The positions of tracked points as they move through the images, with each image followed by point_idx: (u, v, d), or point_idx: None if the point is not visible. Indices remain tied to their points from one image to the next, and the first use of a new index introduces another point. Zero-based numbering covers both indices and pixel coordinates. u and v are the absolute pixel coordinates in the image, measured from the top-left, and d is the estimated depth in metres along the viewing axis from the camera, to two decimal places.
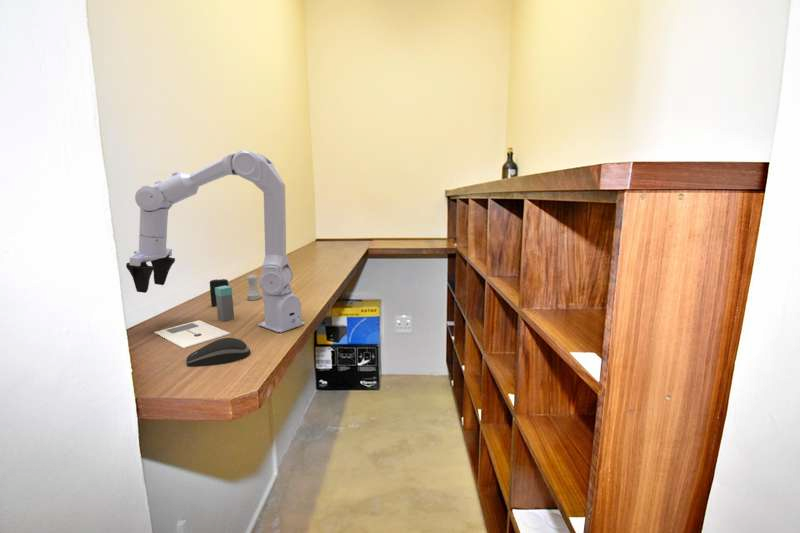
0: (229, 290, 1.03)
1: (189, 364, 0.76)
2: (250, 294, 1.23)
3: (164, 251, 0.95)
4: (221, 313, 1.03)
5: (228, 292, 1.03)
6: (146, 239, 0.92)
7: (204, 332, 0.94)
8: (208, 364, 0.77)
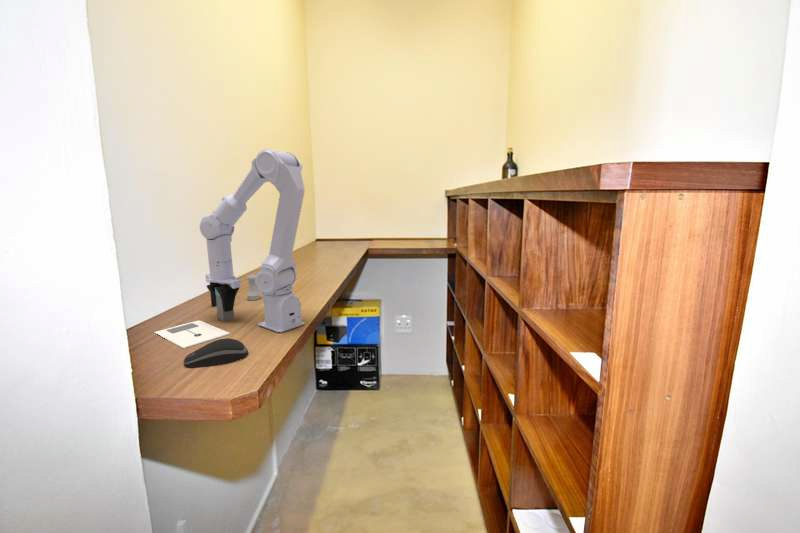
0: None
1: (187, 365, 0.76)
2: (250, 294, 1.23)
3: None
4: (221, 313, 1.03)
5: None
6: (226, 264, 1.00)
7: (204, 332, 0.94)
8: (206, 365, 0.76)
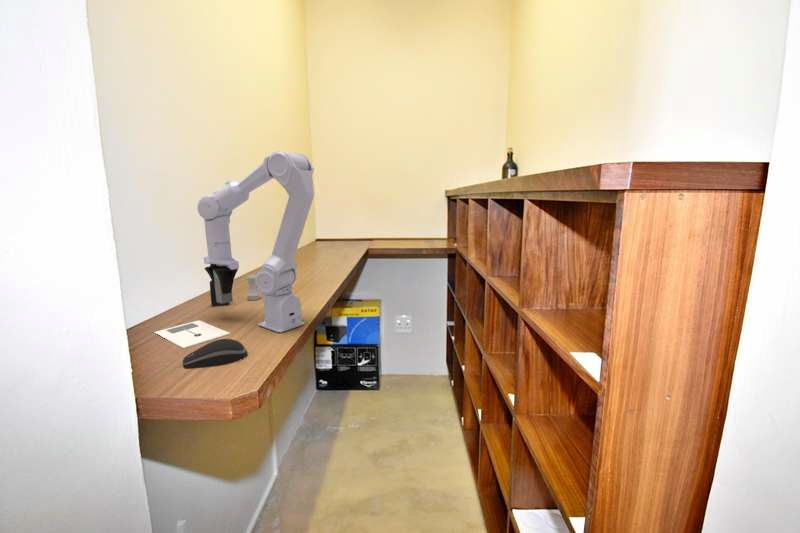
0: None
1: (186, 366, 0.76)
2: (250, 294, 1.23)
3: None
4: (220, 295, 1.02)
5: None
6: (224, 245, 0.99)
7: (204, 332, 0.94)
8: (205, 365, 0.76)
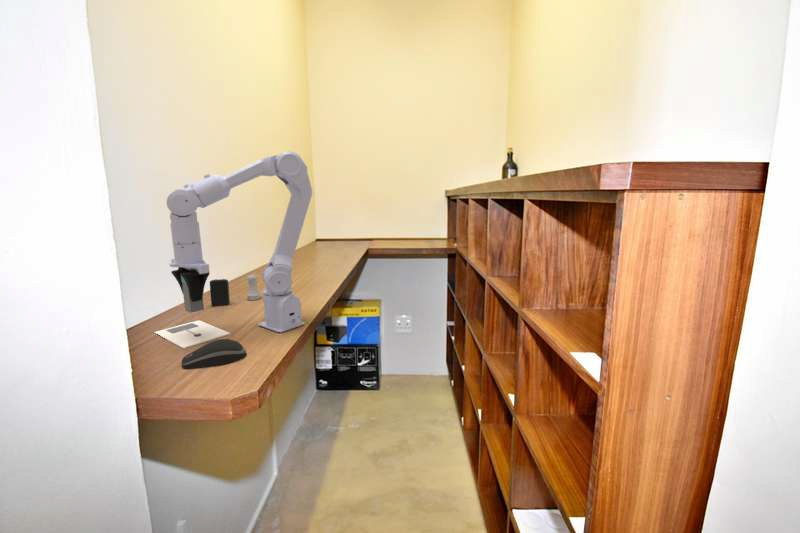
0: None
1: (185, 366, 0.75)
2: (250, 294, 1.23)
3: None
4: (188, 303, 0.89)
5: None
6: (193, 246, 0.86)
7: (204, 332, 0.94)
8: (204, 366, 0.76)
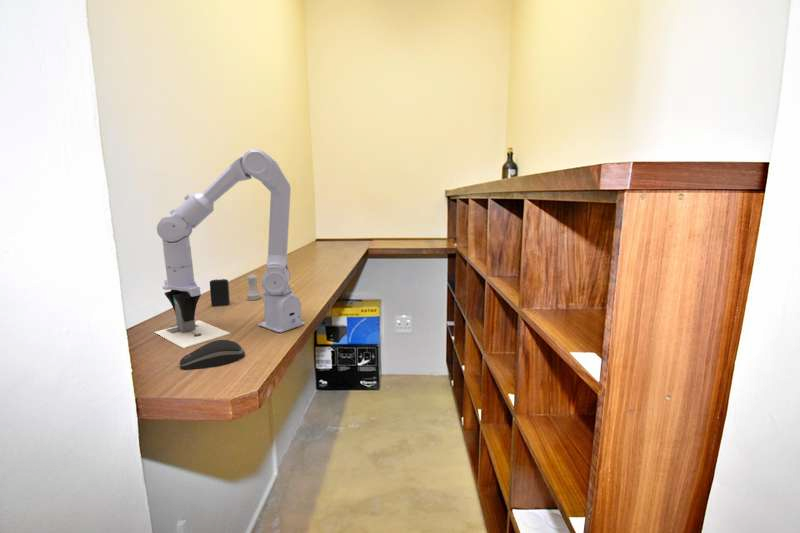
0: None
1: (183, 367, 0.75)
2: (250, 294, 1.23)
3: None
4: (180, 323, 0.93)
5: None
6: (185, 269, 0.91)
7: (204, 332, 0.94)
8: (203, 367, 0.76)
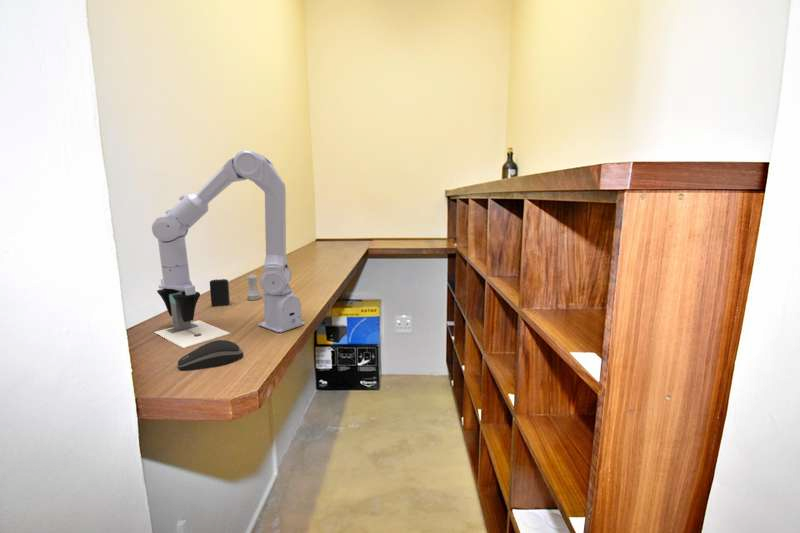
0: None
1: (181, 368, 0.75)
2: (250, 294, 1.23)
3: None
4: (176, 322, 0.95)
5: None
6: (180, 269, 0.92)
7: (204, 332, 0.94)
8: (201, 367, 0.75)
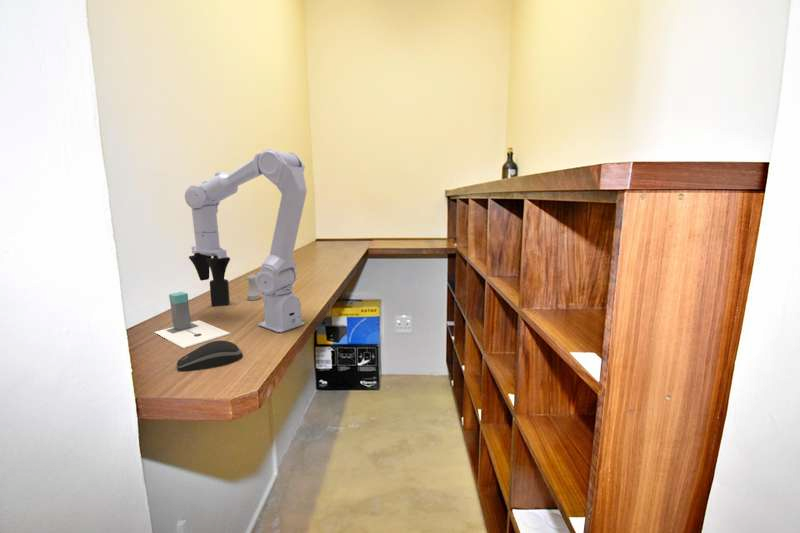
0: (185, 297, 0.95)
1: (180, 369, 0.74)
2: (250, 294, 1.23)
3: None
4: (176, 322, 0.95)
5: (183, 299, 0.95)
6: (212, 235, 1.00)
7: (204, 332, 0.94)
8: (200, 368, 0.75)
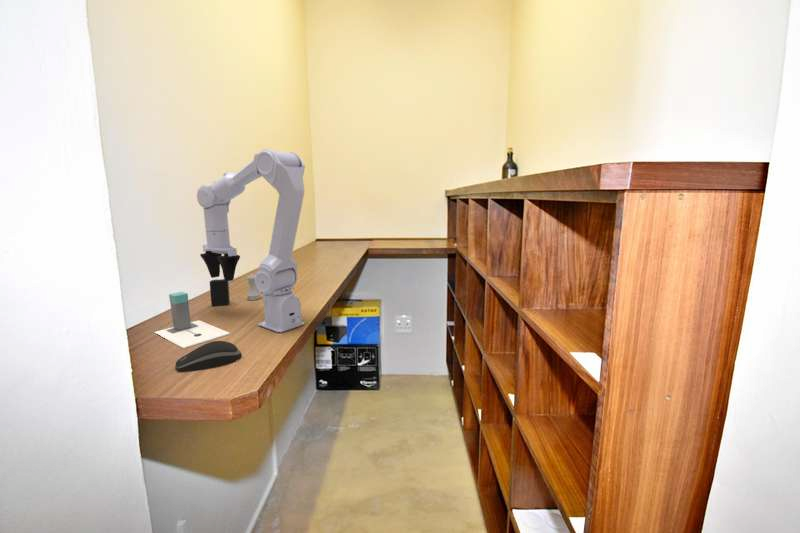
0: (185, 297, 0.95)
1: (179, 369, 0.74)
2: (250, 294, 1.23)
3: None
4: (176, 322, 0.95)
5: (183, 299, 0.95)
6: (223, 233, 1.03)
7: (204, 332, 0.94)
8: (199, 368, 0.75)
